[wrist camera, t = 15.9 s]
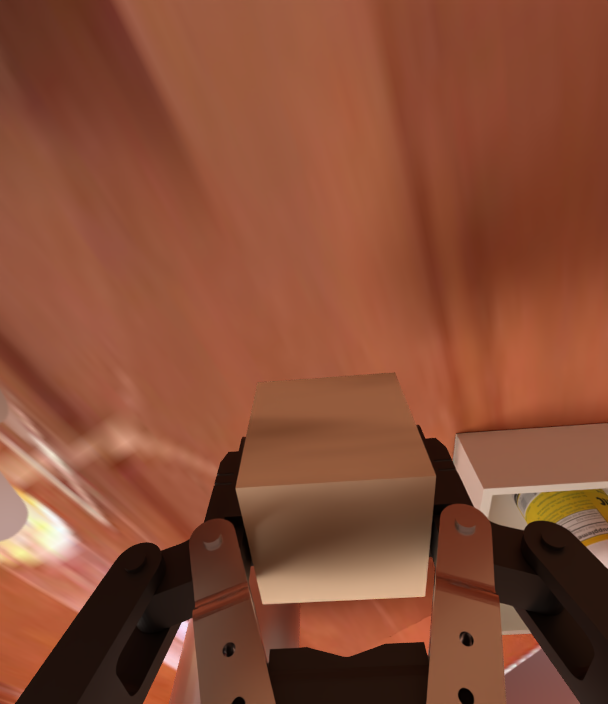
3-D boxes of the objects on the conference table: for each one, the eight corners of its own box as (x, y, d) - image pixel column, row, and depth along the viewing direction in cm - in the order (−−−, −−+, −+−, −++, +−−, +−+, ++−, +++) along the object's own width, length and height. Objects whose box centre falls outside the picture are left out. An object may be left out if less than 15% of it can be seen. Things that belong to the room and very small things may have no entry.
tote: (586, 568, 35) (625, 629, 31) (439, 576, 36) (457, 636, 32) (648, 420, 27) (714, 474, 23) (456, 433, 28) (483, 488, 23)
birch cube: (392, 474, 16) (424, 596, 12) (274, 482, 17) (262, 604, 12) (395, 372, 14) (436, 475, 10) (257, 382, 14) (235, 488, 10)
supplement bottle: (593, 491, 29) (713, 639, 21) (521, 517, 31) (605, 664, 22) (575, 444, 27) (701, 588, 18) (499, 474, 28) (582, 620, 20)
